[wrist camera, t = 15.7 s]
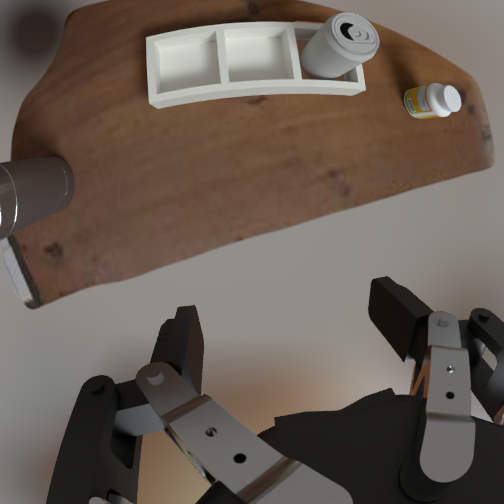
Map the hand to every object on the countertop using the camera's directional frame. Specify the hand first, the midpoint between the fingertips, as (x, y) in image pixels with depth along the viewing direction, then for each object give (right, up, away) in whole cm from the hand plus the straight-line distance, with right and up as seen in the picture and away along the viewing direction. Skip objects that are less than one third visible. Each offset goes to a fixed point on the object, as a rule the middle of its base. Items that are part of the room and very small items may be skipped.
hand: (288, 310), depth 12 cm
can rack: (-1, +29, +20) cm, 35 cm away
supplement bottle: (+26, +27, +23) cm, 44 cm away
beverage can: (+8, +29, +19) cm, 36 cm away
